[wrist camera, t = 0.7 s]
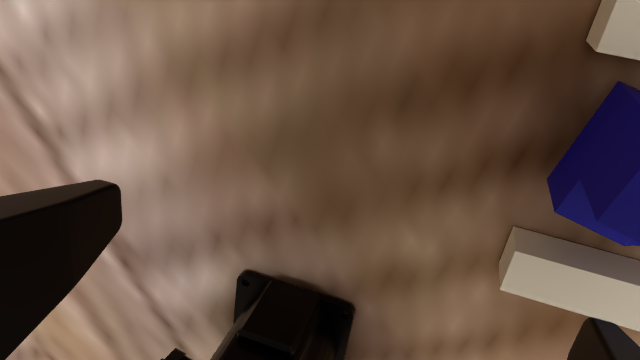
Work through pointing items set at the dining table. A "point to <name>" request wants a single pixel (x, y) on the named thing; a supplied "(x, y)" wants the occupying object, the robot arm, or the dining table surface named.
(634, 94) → the cable clip
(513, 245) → the guide channel
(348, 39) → the dining table surface
